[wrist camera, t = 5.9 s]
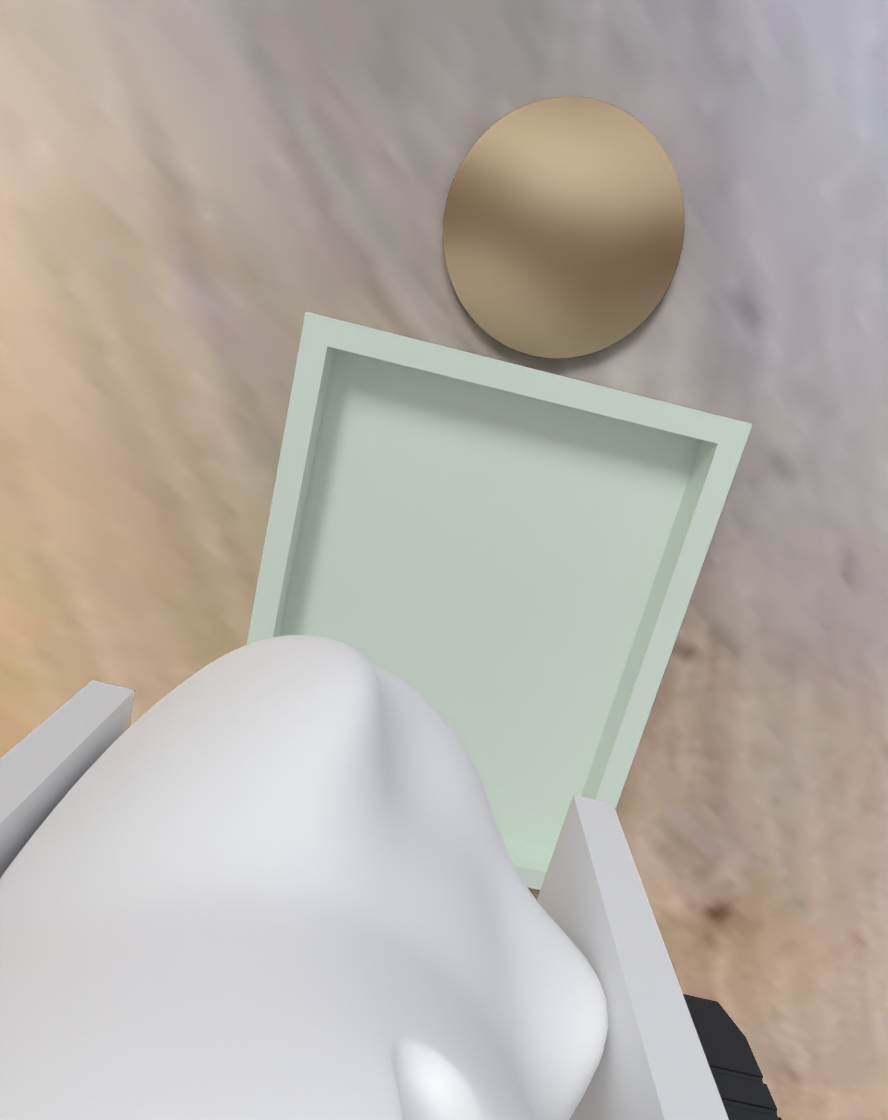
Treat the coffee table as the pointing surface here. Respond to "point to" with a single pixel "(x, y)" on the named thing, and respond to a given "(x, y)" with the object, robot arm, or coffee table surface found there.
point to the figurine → (286, 919)
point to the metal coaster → (563, 227)
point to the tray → (494, 552)
